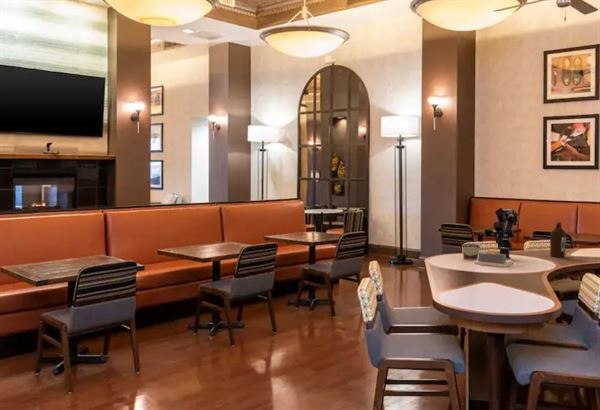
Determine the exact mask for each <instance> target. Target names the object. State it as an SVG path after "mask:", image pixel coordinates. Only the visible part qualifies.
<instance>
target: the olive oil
mask: <svg viewBox="0 0 600 410" xmlns="http://www.w3.org/2000/svg"><path fill="white" fill-rule="evenodd" d="M549 235H550V236H549V241H550V243H549V244H550V249H549V251H550V253H549V255H550V257H552V258H565V257H566V255H565V252H566V243H567V242H566V241H567V232H566V231H565V230H564V229H563V228H562V222H561V221H556V223H555V228H554V229H552V231H551V232H550V234H549Z"/></svg>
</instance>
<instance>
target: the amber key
mask: <svg viewBox="0 0 600 410" xmlns="http://www.w3.org/2000/svg"><path fill="white" fill-rule="evenodd" d="M487 253H488V254H498V250H497V249H491V248H490V249H487Z"/></svg>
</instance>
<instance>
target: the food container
mask: <svg viewBox="0 0 600 410" xmlns="http://www.w3.org/2000/svg"><path fill="white" fill-rule="evenodd" d="M461 248H462V254H463V255H462V256H463V260H478V256H479V253H480V252H479V250H480V248H481V246H480V244H477V243H463V244H462V245H461Z"/></svg>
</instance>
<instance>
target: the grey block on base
mask: <svg viewBox="0 0 600 410" xmlns="http://www.w3.org/2000/svg"><path fill="white" fill-rule="evenodd" d="M513 263H514V261H513V260H510V259H509V260H508V259H506V254H500V253H497V254H488V252H486V251H485V252H484V251H481V252H478V259H476V260H475V261H474V264H476V265H484V266H493V267H494V266H495V267H503V266H504V268H505V267H508V266H510V265H511V264H513Z"/></svg>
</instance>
